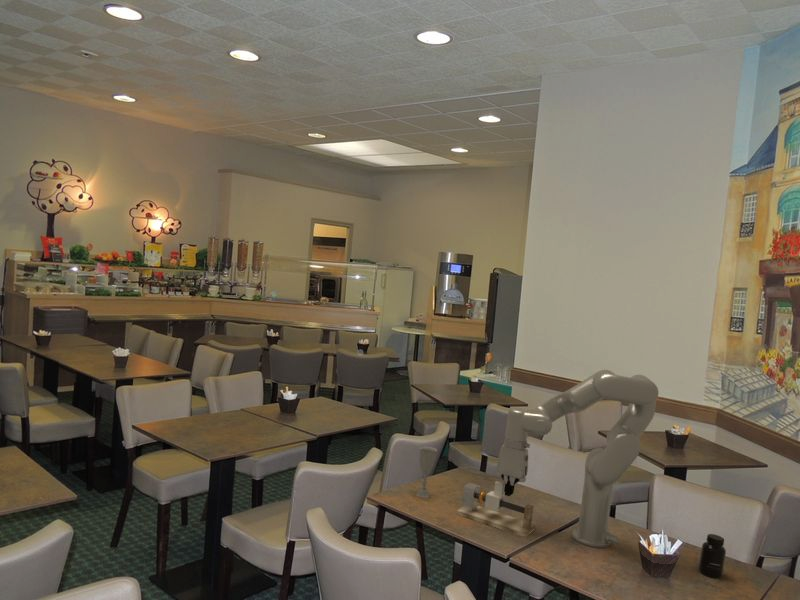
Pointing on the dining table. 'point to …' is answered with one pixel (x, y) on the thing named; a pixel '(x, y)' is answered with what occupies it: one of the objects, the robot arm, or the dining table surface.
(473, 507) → the connector
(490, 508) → the sleeve
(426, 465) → the chalice
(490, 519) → the beige rod holder
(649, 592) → the dining table surface
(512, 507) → the dark grey rod
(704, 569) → the supplement bottle
